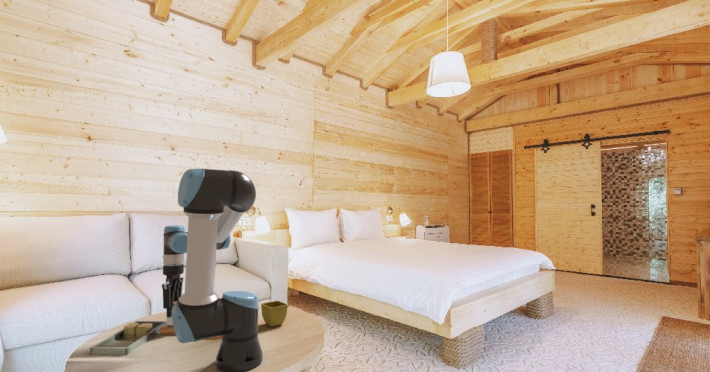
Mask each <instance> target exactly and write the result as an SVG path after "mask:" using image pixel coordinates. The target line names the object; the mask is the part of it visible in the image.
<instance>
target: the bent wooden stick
mask: <svg viewBox="0 0 710 372" xmlns="http://www.w3.org/2000/svg"><path fill="white" fill-rule="evenodd" d="M175 305H177V301H174V303H173V306H175ZM158 334H159V335H161V336H163V335H164V336H165V335H166V336H169V335H170V336H171V335H173V336H176V334H175V331H174V326H173V325H167V326H162V327H161V328H160V332H159V333H158Z"/></svg>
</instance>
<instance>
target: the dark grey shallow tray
mask: <svg viewBox="0 0 710 372" xmlns="http://www.w3.org/2000/svg"><path fill="white" fill-rule="evenodd" d="M134 323H140V324H142V323H152V330H151V331H150V332H148V333H147V334H145V335H144V336H147V341H146V342H148V341H149V340H150V339H152V338H153V337H155V336H156V335H158V334H159V332H160V328H161V327H162V326H167V325H166V320H161V321H160V320H157V321H156V320H155V321H153V320H152V321H151V320H145V321H144V320H137V321H134ZM123 332H124V328H122V329H121V330H119V331H117V332H115V333H114V334H113V335H115V341H114V342H135V341H137V340H138V339H140V338H141V337H136V336H135V337H123Z"/></svg>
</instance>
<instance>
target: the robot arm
mask: <svg viewBox="0 0 710 372" xmlns="http://www.w3.org/2000/svg"><path fill="white" fill-rule="evenodd" d="M177 197H178V198H177V203H178V206H179V207H181V208H183V213H184V214H185V215H186V216H187V218H188V222H187V232H186V230H185V226H184V225H176V224H175V225H167V226H165V227H164V228H163V255H162V259H163V266H162V275H164V276H166V278H165V282H164V283H162V284H161V288H162V289H161V290H162V304H163V305H162V308H163V309H165V310H166V314H165V315H166V320H165V321H166V325H173V326H174V331H175V334H176V335H175V337H176V339H177V341H178V342H179V343H181V344H187V343H195V342H199V341H204V340H207V339H213V338H216V337H221V342H220V345H219V348H218V351H217V354H216V357H215V367H216V368H217V370H220V371H223V372H245V371H249V370H252V369H254V368H256V367H258V366H259V365H261V363H262V362H263V358H264V357H263V356H264V355H263V350H262V347H261V344H260V343H261V342H260V340H259V336H258V335H259V334H258V333H259V331H258V330H259V328H258V327H259V308H260V307H259V298H258V296H257V295H256V294H255V293H253V292H249V291H241V290H231V291H225V292H223V293H222V296H221V298H219V294H218V293H217V292H215V280H216V279H215V277H216V259H217V250H218V251H219V250H224V249H225V250H226V249H228V248H229V247H230V243H231V235H230V234H231V233H232V231H233V230H234V228H235V227H236V225H237V223H238V222H239V221H240V219H242V218H241V217H242V216H243V214H245V213H246V212H248V211H250V209H251V208H252V207H253V205H254V204H255V201H256V198H257V192H256V186H255V185H254V182H253V181H252V180H251V178H250V177H249V176H248V175H246V174H245V173H244V172H241V171H239V170H238V171H237V170H228V169H213V168H212V169H210V168H209V169H208V168H189V169H187V170H186V171H184V173H183V175H182V176H181V178H180V181H179V185H178V190H177ZM185 254H186V261H185ZM184 263H185V265H184ZM184 266H185V267H184ZM184 269H185V270H184ZM184 272H185V275H184V276H185V278H184V277H181V275H182V274H184ZM184 279H185V281H184ZM184 282H185V283H184ZM183 283H184V293H183ZM174 301H177V305H175V306H173V303H174Z"/></svg>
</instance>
